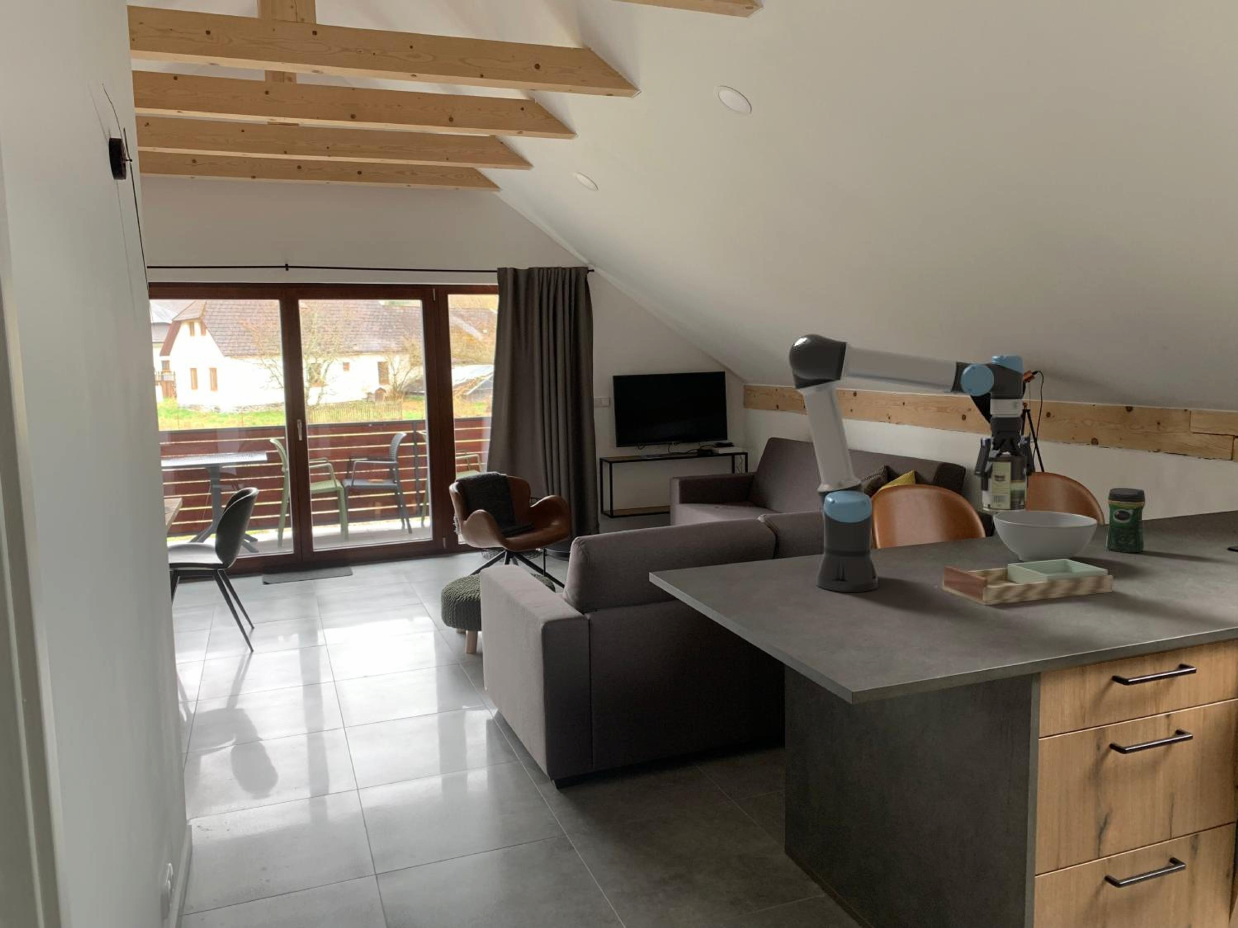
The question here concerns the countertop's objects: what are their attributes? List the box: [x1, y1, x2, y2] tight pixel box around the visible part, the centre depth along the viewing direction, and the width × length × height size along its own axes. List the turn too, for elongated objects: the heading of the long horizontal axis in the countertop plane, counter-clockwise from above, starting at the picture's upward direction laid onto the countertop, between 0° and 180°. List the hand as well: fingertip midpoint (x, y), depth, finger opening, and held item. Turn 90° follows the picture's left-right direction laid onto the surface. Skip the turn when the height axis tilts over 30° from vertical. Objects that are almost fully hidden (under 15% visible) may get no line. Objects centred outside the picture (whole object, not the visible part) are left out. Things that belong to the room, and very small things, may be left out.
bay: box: [941, 565, 1114, 606], centre depth 228 cm, size 37×16×6 cm, turn 107°
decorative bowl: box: [992, 510, 1099, 563], centre depth 261 cm, size 27×27×12 cm
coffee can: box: [982, 453, 1027, 513], centre depth 238 cm, size 10×10×14 cm
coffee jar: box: [1105, 487, 1147, 553], centre depth 273 cm, size 10×8×19 cm
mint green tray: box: [1007, 558, 1108, 584], centre depth 231 cm, size 18×14×4 cm
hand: (1004, 501), depth 239 cm, fingers closed on coffee can, 10 cm apart
